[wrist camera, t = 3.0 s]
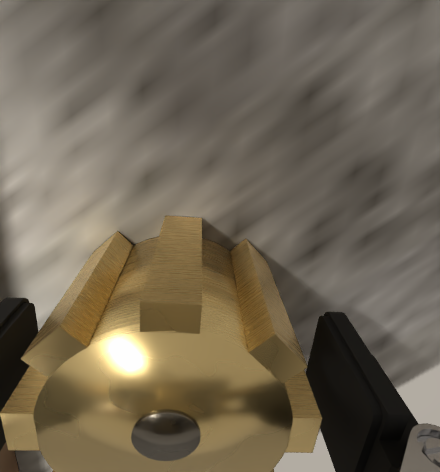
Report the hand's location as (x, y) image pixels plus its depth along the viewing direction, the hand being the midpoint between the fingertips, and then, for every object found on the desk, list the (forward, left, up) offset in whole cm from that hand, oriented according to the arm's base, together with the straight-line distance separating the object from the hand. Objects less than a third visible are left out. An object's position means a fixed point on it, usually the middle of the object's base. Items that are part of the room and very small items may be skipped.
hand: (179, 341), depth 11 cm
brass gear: (0, 0, -2) cm, 2 cm away
